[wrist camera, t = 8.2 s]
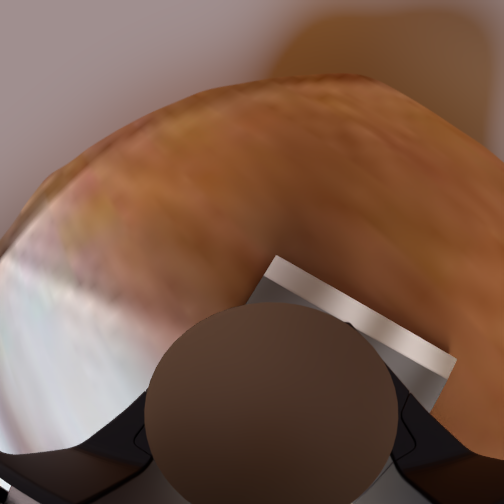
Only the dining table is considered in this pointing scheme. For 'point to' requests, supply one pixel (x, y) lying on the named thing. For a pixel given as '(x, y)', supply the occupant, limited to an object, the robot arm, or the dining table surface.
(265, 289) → the cream and grey cloth
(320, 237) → the dining table surface
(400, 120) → the dining table surface
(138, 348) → the dining table surface
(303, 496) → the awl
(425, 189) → the dining table surface
